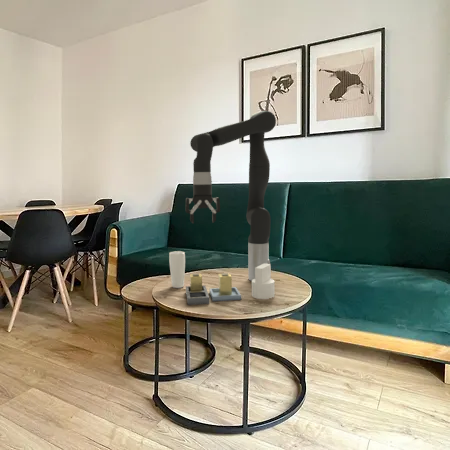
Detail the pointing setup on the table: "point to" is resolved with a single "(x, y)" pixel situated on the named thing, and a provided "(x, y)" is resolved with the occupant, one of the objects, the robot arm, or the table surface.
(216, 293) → the parts tray
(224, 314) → the table surface
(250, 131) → the robot arm
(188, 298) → the frame
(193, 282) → the square peg
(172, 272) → the white tapered cylinder
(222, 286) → the gold square peg
